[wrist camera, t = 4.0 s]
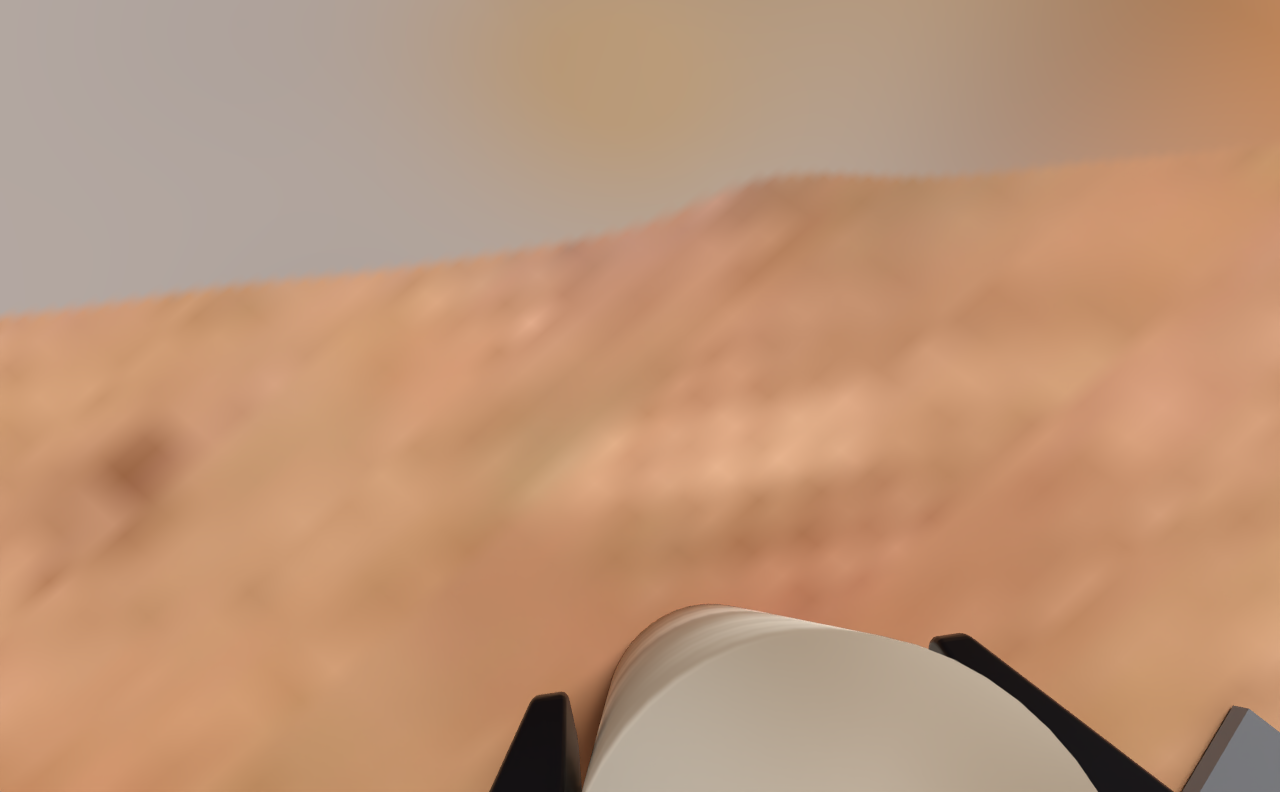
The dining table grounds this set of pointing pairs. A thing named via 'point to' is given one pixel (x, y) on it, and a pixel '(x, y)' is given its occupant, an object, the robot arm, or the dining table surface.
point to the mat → (1240, 757)
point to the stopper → (811, 715)
